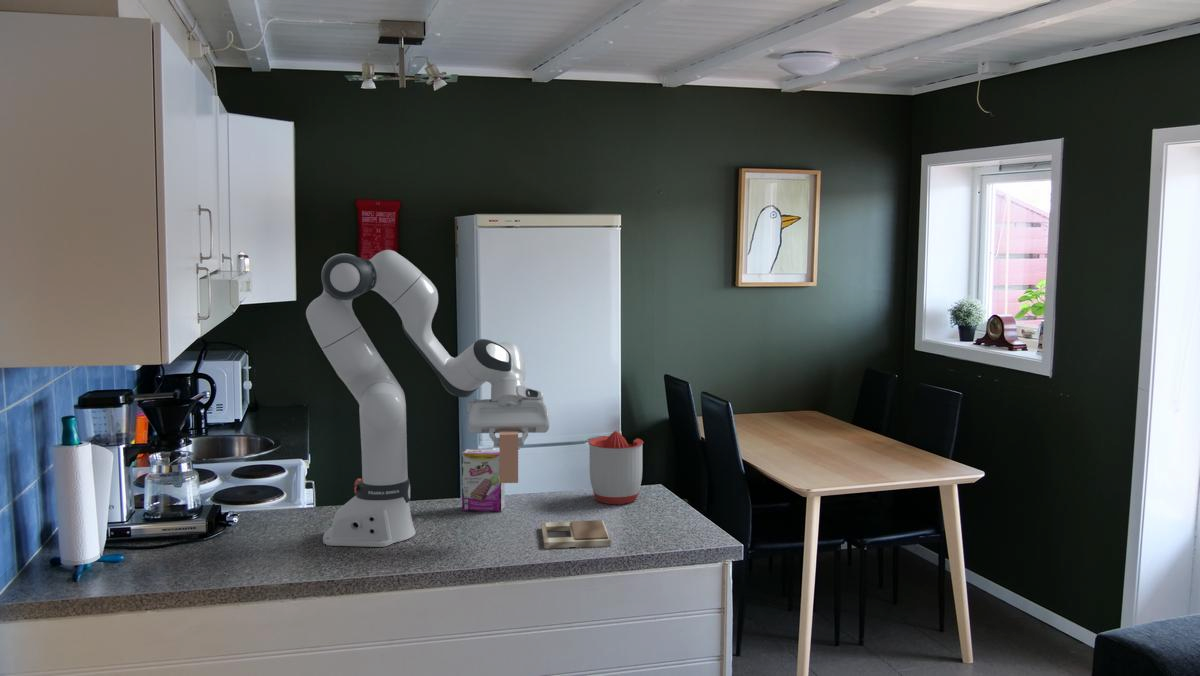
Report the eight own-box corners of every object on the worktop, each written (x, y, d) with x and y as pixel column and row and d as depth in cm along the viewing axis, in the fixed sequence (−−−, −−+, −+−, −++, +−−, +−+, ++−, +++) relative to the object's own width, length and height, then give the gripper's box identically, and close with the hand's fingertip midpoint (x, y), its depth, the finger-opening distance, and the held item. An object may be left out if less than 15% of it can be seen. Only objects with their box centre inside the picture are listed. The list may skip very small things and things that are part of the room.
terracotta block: (499, 483, 227) (499, 434, 226) (499, 478, 231) (499, 431, 230) (518, 482, 227) (518, 434, 226) (517, 478, 232) (517, 430, 230)
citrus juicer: (656, 495, 270) (656, 427, 268) (625, 510, 255) (625, 438, 253) (610, 488, 278) (610, 422, 276) (578, 502, 264) (577, 432, 262)
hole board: (544, 548, 224) (544, 541, 224) (541, 528, 240) (541, 521, 239) (610, 546, 226) (610, 538, 225) (603, 526, 241) (603, 518, 241)
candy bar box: (461, 511, 255) (460, 452, 253) (466, 506, 260) (465, 448, 258) (501, 512, 254) (501, 453, 252) (505, 507, 259) (504, 449, 257)
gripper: (466, 392, 233) (465, 439, 224) (548, 391, 235) (550, 438, 226) (467, 406, 238) (466, 453, 229) (547, 406, 240) (549, 452, 231)
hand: (508, 445), depth 228 cm, fingers closed on terracotta block, 4 cm apart
